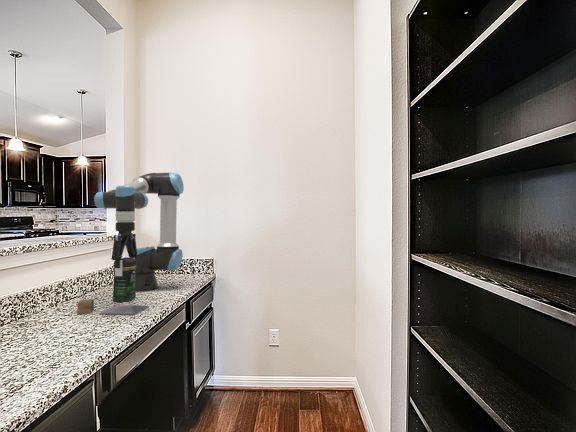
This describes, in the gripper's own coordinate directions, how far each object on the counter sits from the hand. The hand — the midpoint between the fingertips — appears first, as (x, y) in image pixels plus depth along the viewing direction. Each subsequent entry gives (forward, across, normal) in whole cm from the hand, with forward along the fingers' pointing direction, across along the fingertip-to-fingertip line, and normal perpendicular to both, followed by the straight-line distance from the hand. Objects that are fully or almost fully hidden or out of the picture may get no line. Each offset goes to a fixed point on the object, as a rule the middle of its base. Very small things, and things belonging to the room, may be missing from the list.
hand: (125, 274), depth 156 cm
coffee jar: (+12, 0, 0) cm, 12 cm away
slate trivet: (+16, 0, 0) cm, 16 cm away
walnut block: (+16, +4, -15) cm, 22 cm away
